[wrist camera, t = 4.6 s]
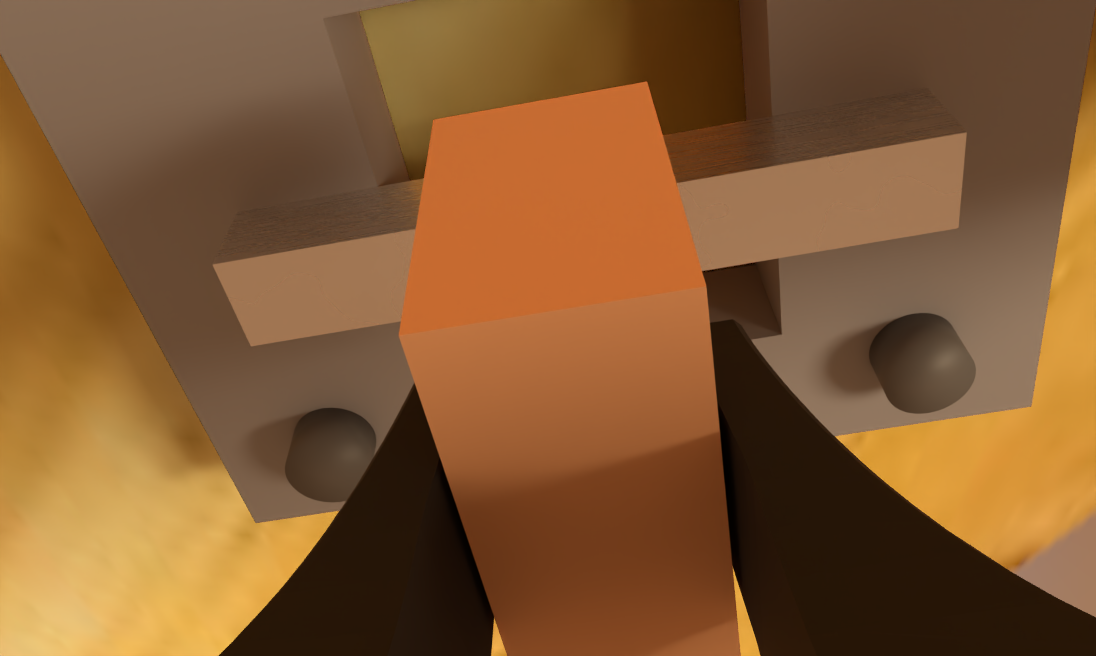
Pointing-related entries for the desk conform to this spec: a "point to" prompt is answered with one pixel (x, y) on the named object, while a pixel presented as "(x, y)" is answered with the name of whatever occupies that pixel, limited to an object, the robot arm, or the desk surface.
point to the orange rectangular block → (573, 377)
